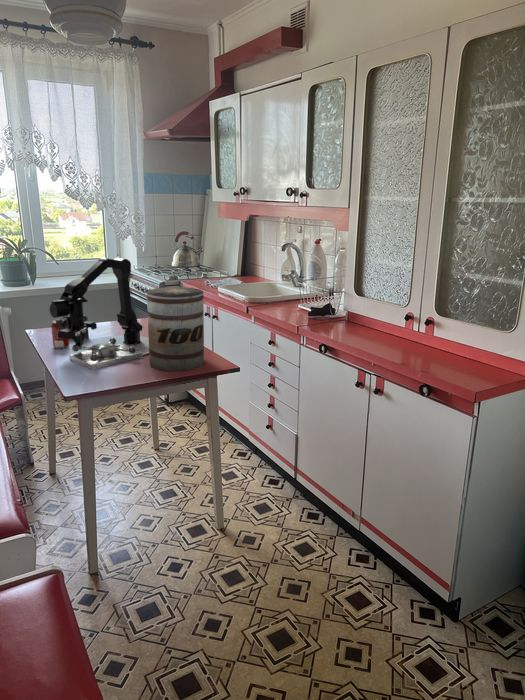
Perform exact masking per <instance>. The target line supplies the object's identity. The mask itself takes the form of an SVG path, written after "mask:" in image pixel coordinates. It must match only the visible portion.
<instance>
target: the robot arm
mask: <svg viewBox="0 0 525 700" xmlns="http://www.w3.org/2000/svg"><path fill="white" fill-rule="evenodd" d="M109 268H110V269H112V272H113V274H114V276H115V278H116V282H117V286H118V287H117V288H118V294H119V295H118V297H119V303H120V304H119V305H120V310H119V313H116V318H117V322H116V323H118V324H119V326H121V329H122V330H124V333H123V344H126V345H129V346H134V345H139V344H143V341H142V340H141V333H140V332H142V331H143V327H144V326H143V325H142V324H141V323H140V322H138V318H137V314H136V312H135V311H134V309H133V303H132V297H131V290H130V289H131V288H130V280H129V277H130V275H131V273H132V263H131V261H130V260H129V259H127V258H121V257H115V258H108V257H100V258H99V259H98V260H97V261H96V262H95V263H94V264H93V265H92V266H91V267H90V268H89V269H88V270H86V271H85V272H84V273H83V274H82V275H81V276H79V278H75V279H74V280H72V281H70V282H68V283H67V284H66V285H64V290H63V292H62V294H61V296H60V298H59V299H57V300H56V299H55V300H51V304H50V306H49V314H50V316H51V317H52V318H60V317H61V318H62V317H63V316H67V315H69V316H67V320H63V318H62V319H56V320H57V321H56V326H57V328H60V329H62V328H66V327H67V328H68V329H63V330H60V331H58V333H57V334H58V338H65V339H69V340H70V339H71V338H73V339H71V340H73V343H74V345H75V344H76V345H78V346H81V347H83V344H84V342H85V340H86V339H87V338H86V336H87V334H89V331H88V332H86V330H85V329H87V328H88V329H91V330H96V329H97V327H98V326H97V324H98V323H96V322H95V321H90V320H89V321H85V322H84V318H86V317H87V315H85V314H84V313H85V312H84V303H87V302H88V299H86V298H85V297H84V296H85V294H86V293H87V291H88V289H89V286H90V285H91V284H92V283H93V282H94V281H96V279H98V278H99V276H101V275H102V274H103V273H104V272H105V271H106V270H107V269H109ZM62 320H63V321H62ZM69 329H71V330H69ZM85 338H86V339H85Z"/></svg>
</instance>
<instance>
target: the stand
mask: <svg viewBox="0 0 525 700" xmlns="http://www.w3.org/2000/svg"><path fill="white" fill-rule="evenodd" d="M115 345H116V348H129V347H130V346H129V347H128V346H126V345H123V344H121V343H117V344H116V343H115ZM91 355H92V350H83V351H81V352H75V353H71V354H68V356H69V360H70V361H73V362H75V363H77V364H78V365H81V366H83V367H86V368H88V369H90V370H96V369H99V368H104V367H109V366H112V365H116V364H120V363H124V362H129V361H133V360H137V359H140V358H143V356H144V355H143V352H142V351H139V350H136V351H135V353H130V352H129V351H116V354H115V355H113V356H109V357H98V359H97V361H91V359H90V356H91Z"/></svg>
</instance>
